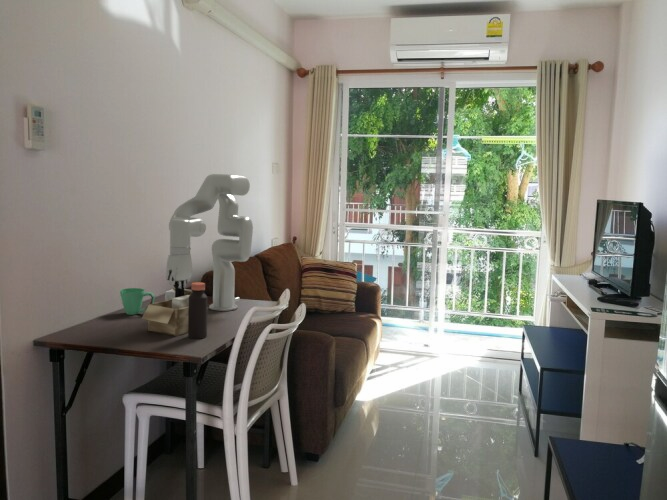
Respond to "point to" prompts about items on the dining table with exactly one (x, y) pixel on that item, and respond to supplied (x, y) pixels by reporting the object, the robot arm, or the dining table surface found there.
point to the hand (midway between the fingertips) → (179, 297)
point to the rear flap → (185, 292)
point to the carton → (173, 317)
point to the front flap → (158, 314)
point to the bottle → (197, 311)
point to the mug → (134, 300)
